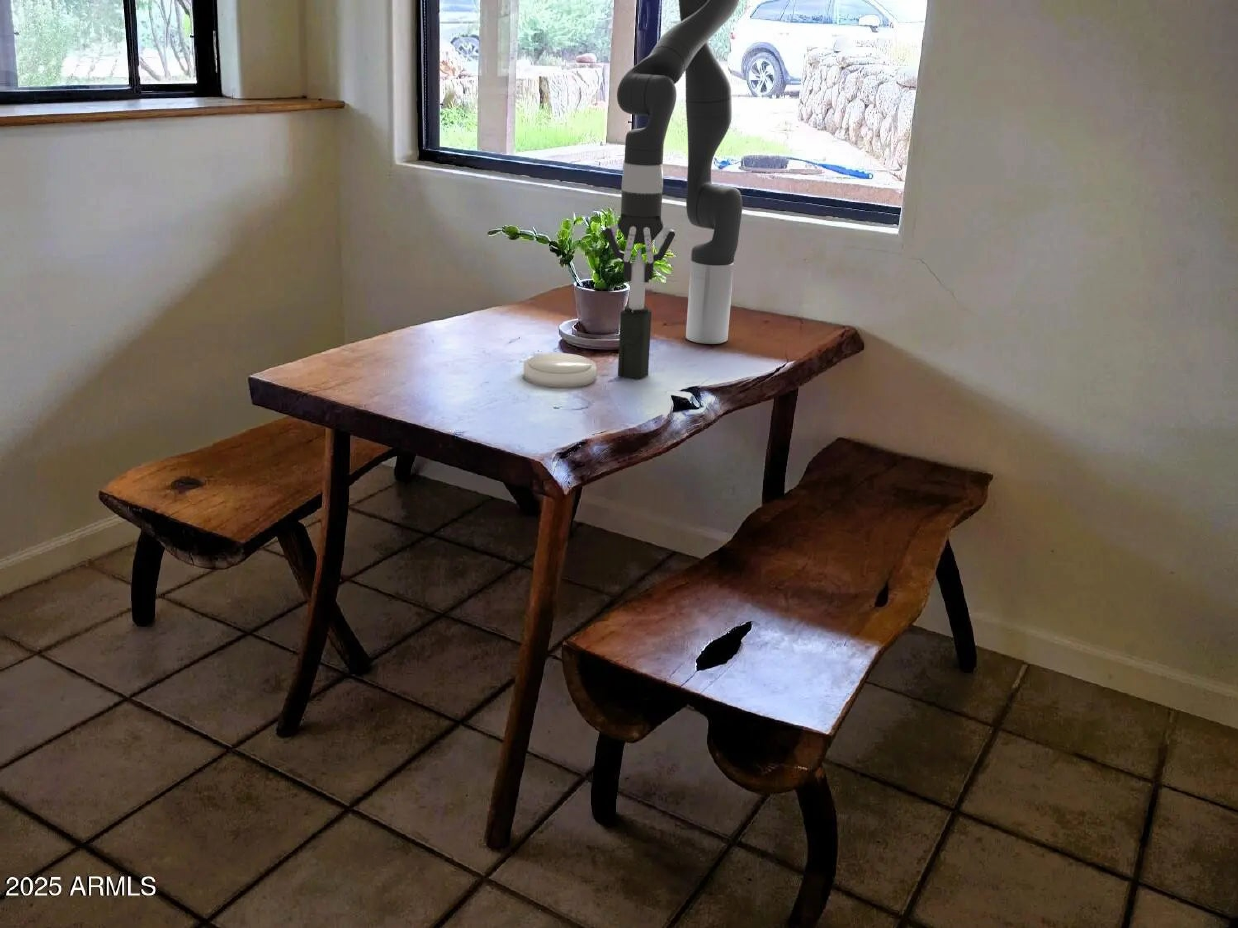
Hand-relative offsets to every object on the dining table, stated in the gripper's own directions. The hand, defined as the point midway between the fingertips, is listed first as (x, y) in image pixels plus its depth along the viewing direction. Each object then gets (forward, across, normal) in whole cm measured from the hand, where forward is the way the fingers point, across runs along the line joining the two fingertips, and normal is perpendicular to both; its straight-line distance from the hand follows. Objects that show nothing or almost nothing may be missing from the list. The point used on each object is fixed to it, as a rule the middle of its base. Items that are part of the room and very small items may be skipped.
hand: (637, 280), depth 214 cm
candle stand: (+19, +14, +4) cm, 24 cm away
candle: (+19, 0, 0) cm, 19 cm away
